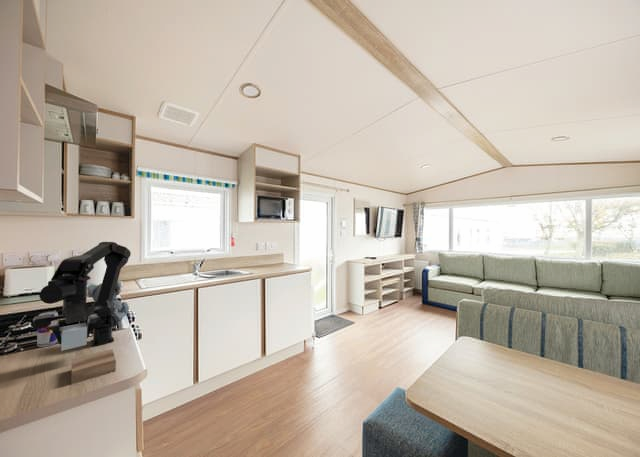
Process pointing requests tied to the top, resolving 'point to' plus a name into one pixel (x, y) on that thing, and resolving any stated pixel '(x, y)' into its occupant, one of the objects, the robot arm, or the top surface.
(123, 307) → the koala plush
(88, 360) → the walnut block
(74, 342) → the slate cube
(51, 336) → the energy drink
